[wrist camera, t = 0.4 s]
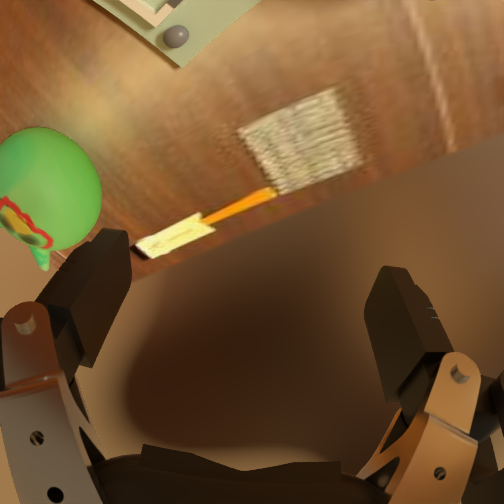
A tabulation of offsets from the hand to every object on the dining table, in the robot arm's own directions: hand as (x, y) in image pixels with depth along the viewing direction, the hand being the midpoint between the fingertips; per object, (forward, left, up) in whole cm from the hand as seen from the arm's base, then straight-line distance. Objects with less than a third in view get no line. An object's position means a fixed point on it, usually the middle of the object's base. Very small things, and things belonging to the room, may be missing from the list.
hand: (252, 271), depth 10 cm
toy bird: (-9, -31, -28) cm, 43 cm away
